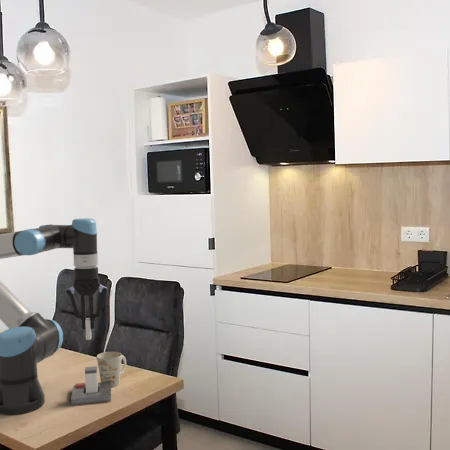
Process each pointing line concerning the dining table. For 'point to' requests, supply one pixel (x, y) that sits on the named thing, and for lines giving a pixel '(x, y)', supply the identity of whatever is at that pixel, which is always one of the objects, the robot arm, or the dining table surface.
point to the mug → (111, 367)
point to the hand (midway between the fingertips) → (88, 338)
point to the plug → (91, 379)
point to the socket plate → (91, 394)
